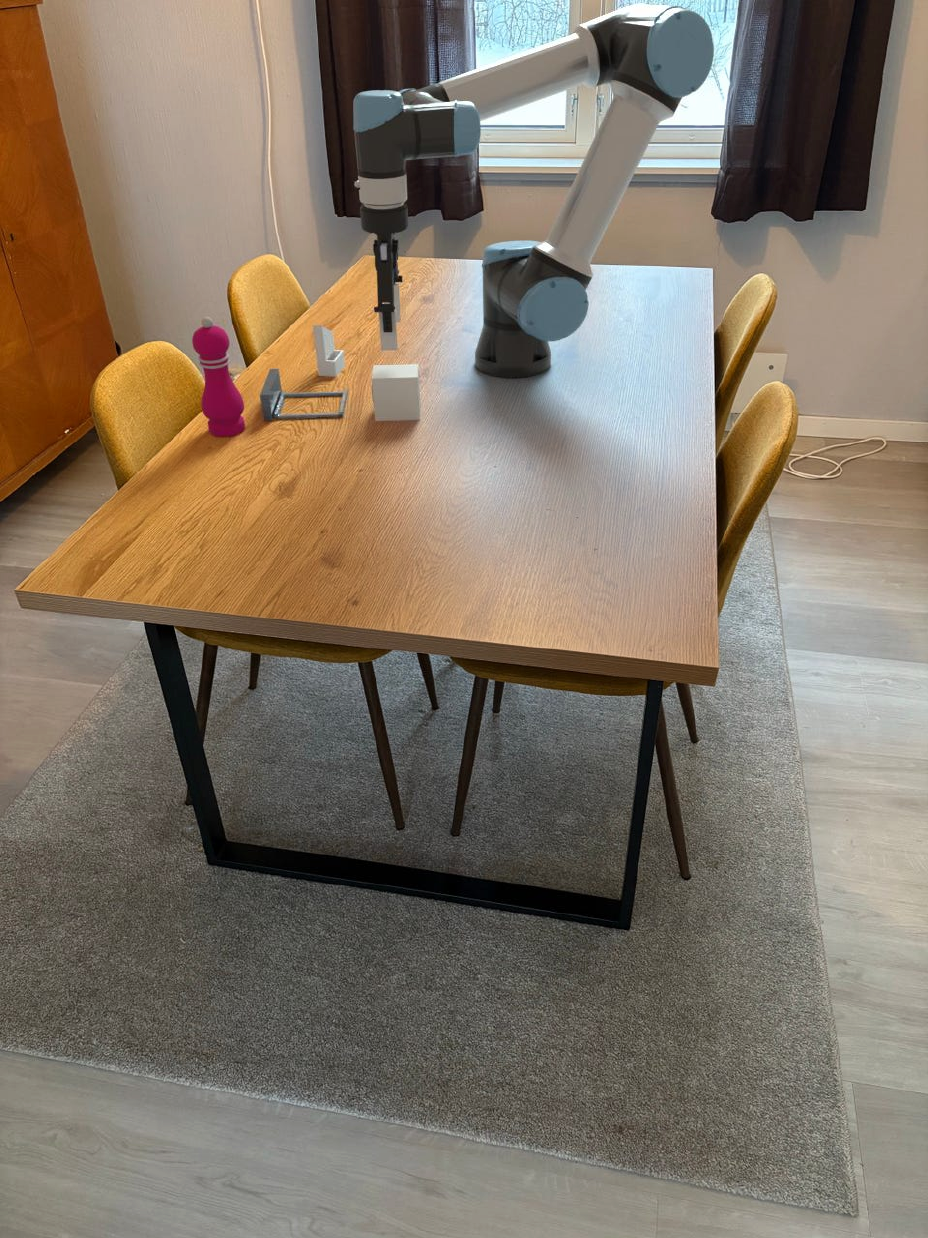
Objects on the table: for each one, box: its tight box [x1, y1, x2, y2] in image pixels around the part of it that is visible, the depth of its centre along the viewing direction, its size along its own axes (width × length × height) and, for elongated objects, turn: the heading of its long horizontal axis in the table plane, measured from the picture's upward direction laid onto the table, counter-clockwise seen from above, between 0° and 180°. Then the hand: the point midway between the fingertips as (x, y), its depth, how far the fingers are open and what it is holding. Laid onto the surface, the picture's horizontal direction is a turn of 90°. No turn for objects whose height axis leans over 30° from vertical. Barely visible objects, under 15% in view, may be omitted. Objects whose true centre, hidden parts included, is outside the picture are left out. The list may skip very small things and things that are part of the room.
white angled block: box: [312, 325, 346, 378], centre depth 184 cm, size 4×10×9 cm, turn 168°
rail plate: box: [259, 368, 349, 422], centre depth 171 cm, size 14×12×5 cm
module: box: [371, 363, 422, 422], centre depth 167 cm, size 8×6×8 cm
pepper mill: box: [191, 316, 246, 438], centre depth 160 cm, size 7×7×20 cm
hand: (391, 335), depth 161 cm, fingers open, 13 cm apart
